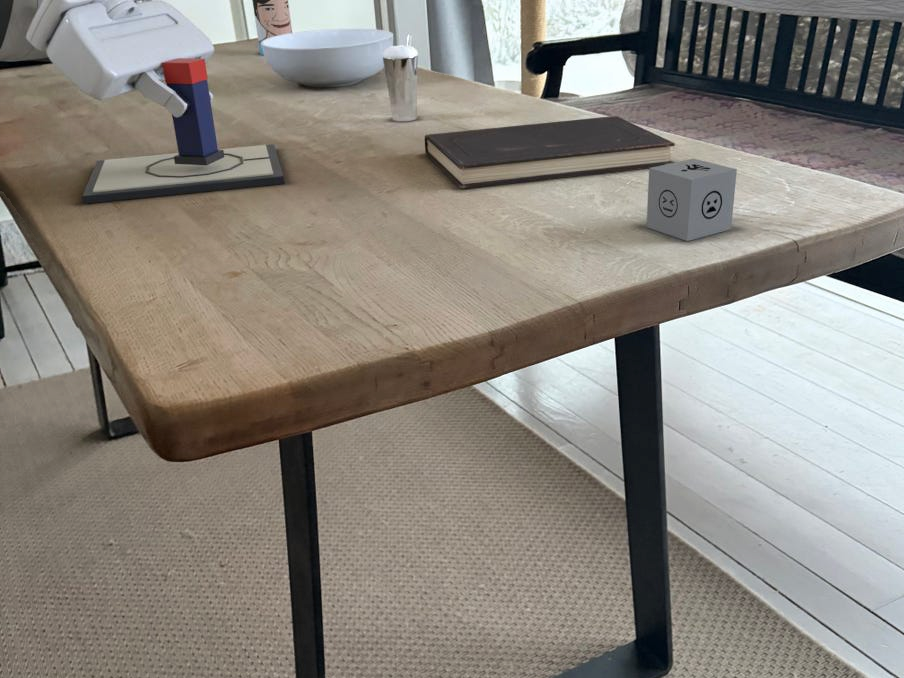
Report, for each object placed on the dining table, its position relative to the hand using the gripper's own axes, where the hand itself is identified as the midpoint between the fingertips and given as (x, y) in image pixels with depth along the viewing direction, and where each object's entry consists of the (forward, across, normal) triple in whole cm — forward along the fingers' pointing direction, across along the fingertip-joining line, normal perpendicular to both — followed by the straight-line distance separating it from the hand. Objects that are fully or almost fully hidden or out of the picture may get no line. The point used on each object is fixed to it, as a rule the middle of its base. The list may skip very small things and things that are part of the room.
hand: (196, 107), depth 99 cm
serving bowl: (-3, -59, -13) cm, 60 cm away
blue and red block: (+3, 0, -4) cm, 5 cm away
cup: (-21, -92, -31) cm, 100 cm away
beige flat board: (+3, -1, -7) cm, 8 cm away
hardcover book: (+29, -12, +19) cm, 37 cm away
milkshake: (+13, -32, +3) cm, 35 cm away
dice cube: (+42, +10, +32) cm, 53 cm away
